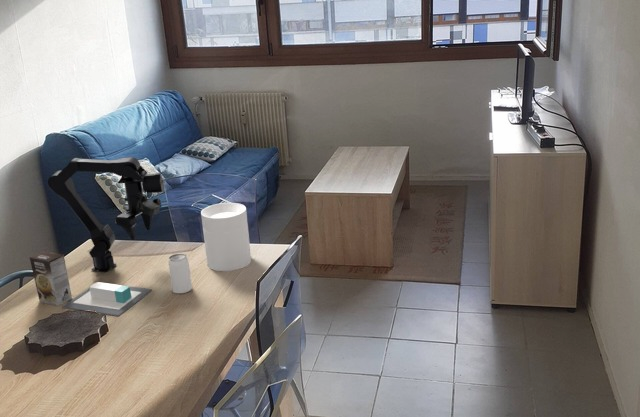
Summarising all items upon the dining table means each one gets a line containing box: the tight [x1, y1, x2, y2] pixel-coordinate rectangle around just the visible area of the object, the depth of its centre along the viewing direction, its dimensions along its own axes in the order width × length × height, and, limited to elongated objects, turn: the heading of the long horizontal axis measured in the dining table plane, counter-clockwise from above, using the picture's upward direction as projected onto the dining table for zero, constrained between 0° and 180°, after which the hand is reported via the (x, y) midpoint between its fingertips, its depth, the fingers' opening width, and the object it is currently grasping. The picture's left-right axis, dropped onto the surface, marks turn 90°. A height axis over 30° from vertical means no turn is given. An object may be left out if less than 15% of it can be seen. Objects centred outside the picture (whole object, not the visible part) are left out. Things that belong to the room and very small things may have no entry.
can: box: [168, 253, 193, 295], centre depth 211 cm, size 6×6×12 cm
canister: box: [200, 202, 252, 272], centre depth 229 cm, size 16×16×20 cm
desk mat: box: [61, 285, 153, 317], centre depth 209 cm, size 22×18×1 cm
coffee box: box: [29, 250, 73, 307], centre depth 208 cm, size 9×6×16 cm
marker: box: [88, 281, 132, 303], centre depth 208 cm, size 13×4×4 cm, turn 69°
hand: (141, 234), depth 229 cm, fingers open, 9 cm apart
